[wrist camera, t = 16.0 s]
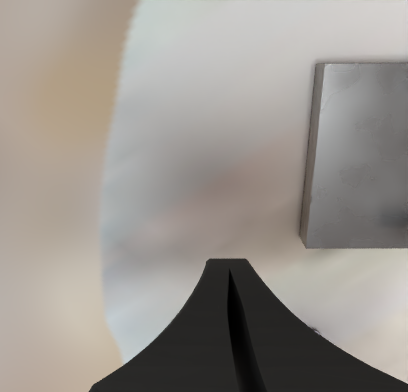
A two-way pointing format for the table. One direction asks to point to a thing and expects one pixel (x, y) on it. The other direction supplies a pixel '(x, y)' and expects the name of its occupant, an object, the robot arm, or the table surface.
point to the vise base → (357, 158)
